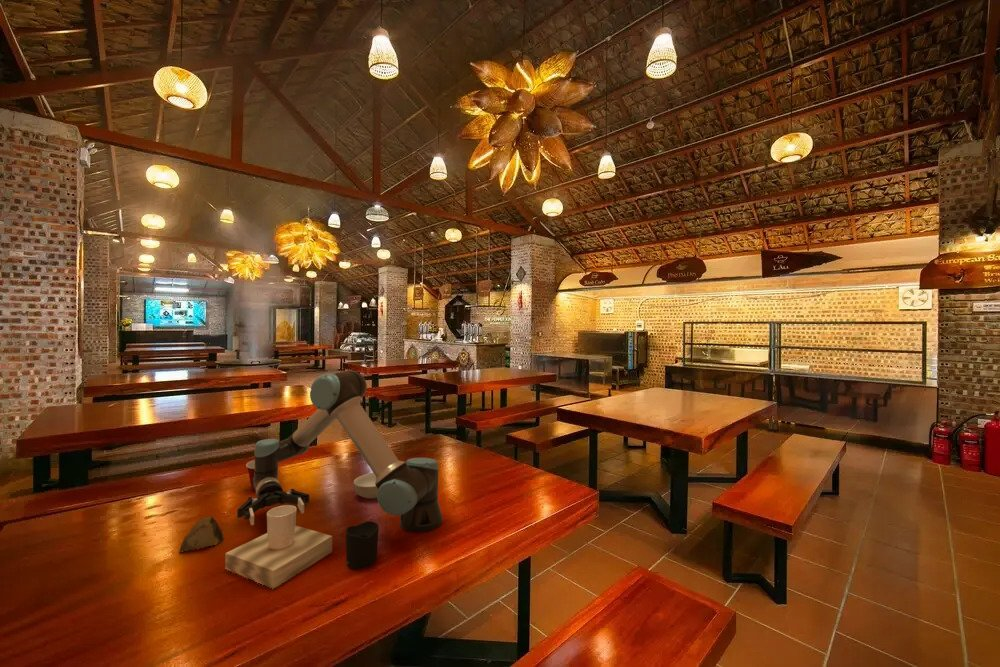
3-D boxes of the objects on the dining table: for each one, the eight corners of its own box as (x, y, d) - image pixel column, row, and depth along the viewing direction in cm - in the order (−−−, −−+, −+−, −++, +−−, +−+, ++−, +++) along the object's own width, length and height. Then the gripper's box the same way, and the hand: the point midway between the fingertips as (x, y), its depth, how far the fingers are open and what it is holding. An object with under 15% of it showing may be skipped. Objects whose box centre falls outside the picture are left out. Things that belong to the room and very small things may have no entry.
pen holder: (352, 552, 124) (353, 520, 124) (382, 553, 123) (383, 521, 123) (339, 570, 114) (340, 535, 114) (371, 571, 114) (372, 536, 114)
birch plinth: (332, 552, 124) (332, 536, 124) (273, 589, 105) (273, 570, 105) (287, 538, 131) (287, 523, 131) (225, 570, 113) (225, 553, 113)
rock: (168, 551, 119) (203, 545, 119) (177, 520, 124) (211, 515, 125) (190, 556, 127) (223, 551, 128) (199, 527, 132) (230, 522, 133)
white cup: (301, 537, 122) (301, 505, 122) (286, 551, 114) (287, 517, 114) (276, 536, 123) (277, 504, 123) (260, 550, 115) (260, 516, 115)
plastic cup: (251, 497, 163) (251, 468, 163) (241, 490, 170) (241, 462, 170) (278, 489, 172) (279, 461, 172) (268, 483, 178) (268, 456, 178)
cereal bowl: (378, 484, 179) (379, 469, 179) (403, 493, 169) (403, 477, 169) (345, 496, 165) (345, 479, 165) (369, 507, 156) (369, 489, 156)
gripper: (308, 494, 145) (321, 516, 128) (225, 511, 130) (229, 538, 113) (308, 474, 145) (322, 493, 128) (226, 488, 130) (229, 512, 113)
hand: (278, 514), depth 121 cm, fingers open, 13 cm apart
